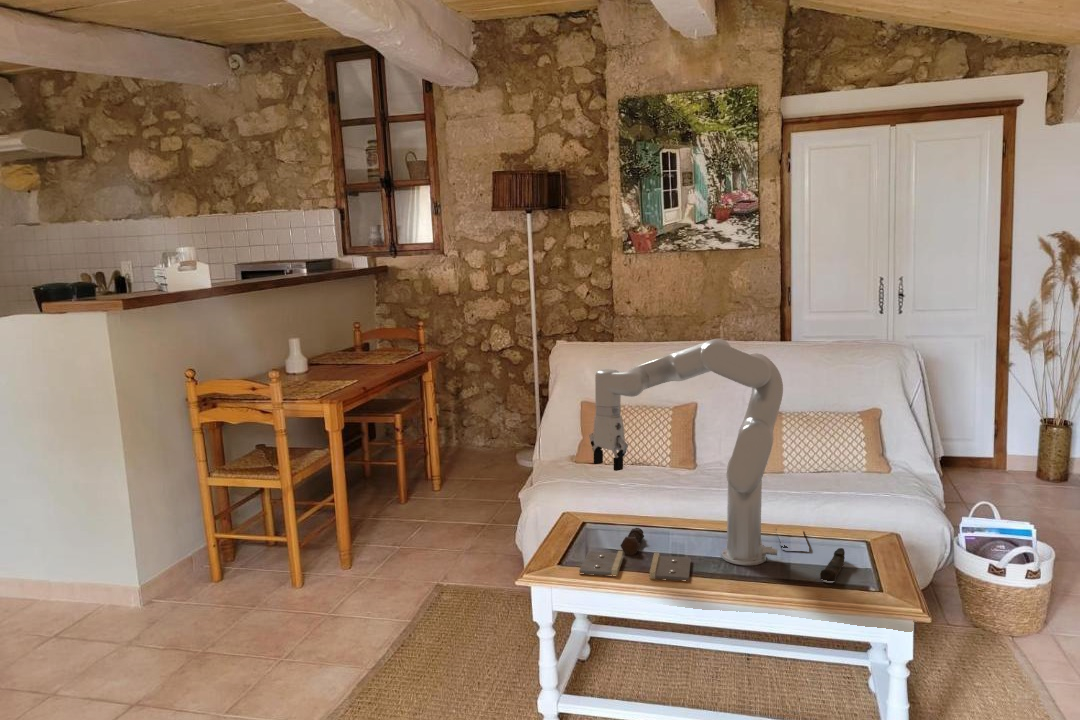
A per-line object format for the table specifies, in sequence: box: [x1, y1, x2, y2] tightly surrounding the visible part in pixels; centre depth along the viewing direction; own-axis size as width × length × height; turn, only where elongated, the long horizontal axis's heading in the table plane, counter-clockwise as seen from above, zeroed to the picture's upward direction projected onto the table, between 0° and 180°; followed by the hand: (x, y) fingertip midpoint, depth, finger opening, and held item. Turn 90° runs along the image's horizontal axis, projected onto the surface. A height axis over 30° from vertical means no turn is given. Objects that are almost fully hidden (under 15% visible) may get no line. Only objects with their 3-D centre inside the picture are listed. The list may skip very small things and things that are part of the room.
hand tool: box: [819, 547, 845, 582], centre depth 220 cm, size 19×4×5 cm, turn 146°
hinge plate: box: [579, 550, 692, 581], centre depth 226 cm, size 30×15×2 cm, turn 77°
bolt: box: [620, 527, 645, 555], centre depth 244 cm, size 6×5×15 cm
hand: (608, 466), depth 240 cm, fingers open, 9 cm apart
